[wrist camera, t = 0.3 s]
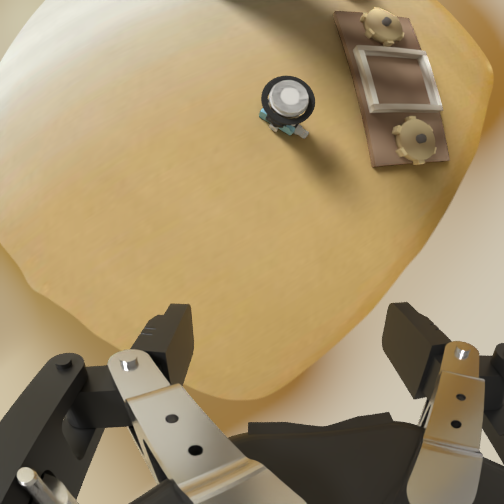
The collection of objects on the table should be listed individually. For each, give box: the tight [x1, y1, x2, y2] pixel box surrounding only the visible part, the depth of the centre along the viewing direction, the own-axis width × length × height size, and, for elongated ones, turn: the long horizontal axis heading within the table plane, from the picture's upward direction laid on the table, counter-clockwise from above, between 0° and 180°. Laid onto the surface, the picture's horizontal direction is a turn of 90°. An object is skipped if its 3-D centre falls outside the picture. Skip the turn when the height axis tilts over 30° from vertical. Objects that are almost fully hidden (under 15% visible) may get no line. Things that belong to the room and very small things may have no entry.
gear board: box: [333, 7, 449, 167], centre depth 34 cm, size 25×13×4 cm, turn 10°
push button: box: [259, 76, 315, 139], centre depth 32 cm, size 7×5×10 cm
